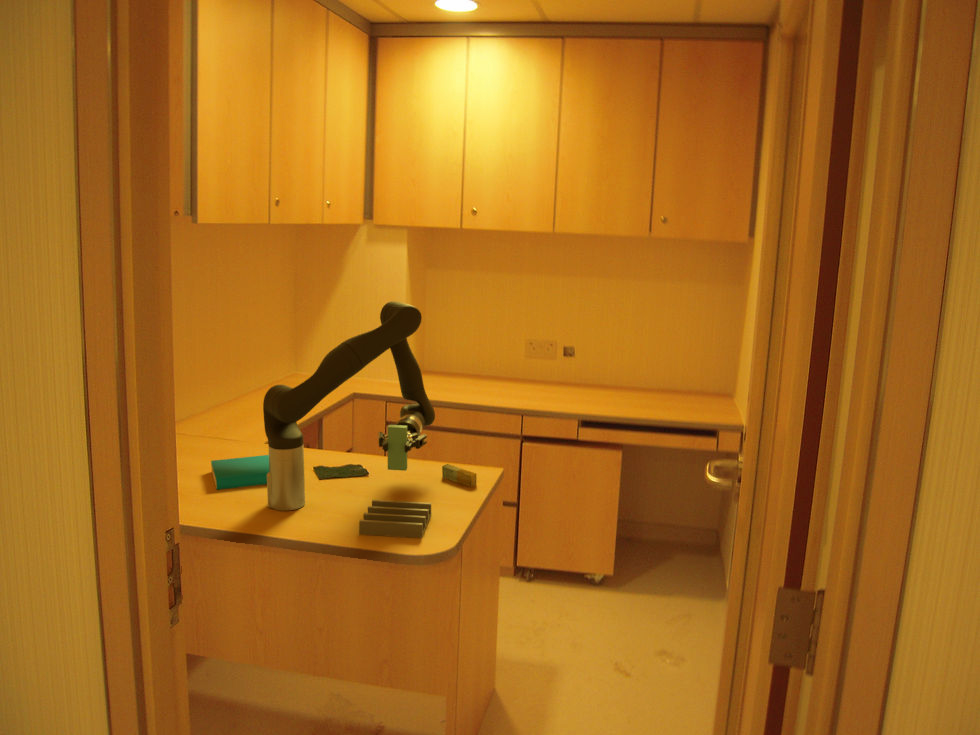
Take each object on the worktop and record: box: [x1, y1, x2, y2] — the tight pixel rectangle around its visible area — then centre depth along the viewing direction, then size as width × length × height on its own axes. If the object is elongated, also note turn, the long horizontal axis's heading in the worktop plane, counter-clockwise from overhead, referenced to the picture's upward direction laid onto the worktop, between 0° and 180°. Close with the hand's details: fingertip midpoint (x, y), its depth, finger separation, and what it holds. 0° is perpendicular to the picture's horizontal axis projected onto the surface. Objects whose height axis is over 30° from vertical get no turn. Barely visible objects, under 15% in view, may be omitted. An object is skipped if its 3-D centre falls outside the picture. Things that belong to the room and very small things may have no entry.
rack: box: [358, 499, 432, 539], centre depth 215 cm, size 16×15×4 cm
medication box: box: [441, 463, 477, 488], centre depth 248 cm, size 12×3×4 cm, turn 50°
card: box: [387, 424, 408, 472], centre depth 223 cm, size 5×2×12 cm, turn 85°
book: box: [210, 454, 269, 491], centre depth 249 cm, size 17×4×25 cm
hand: (395, 448), depth 220 cm, fingers closed on card, 5 cm apart
